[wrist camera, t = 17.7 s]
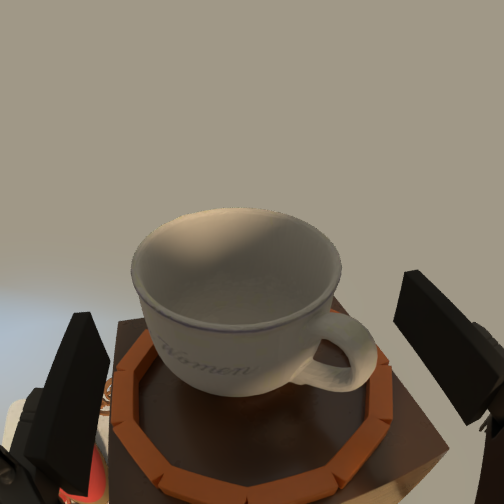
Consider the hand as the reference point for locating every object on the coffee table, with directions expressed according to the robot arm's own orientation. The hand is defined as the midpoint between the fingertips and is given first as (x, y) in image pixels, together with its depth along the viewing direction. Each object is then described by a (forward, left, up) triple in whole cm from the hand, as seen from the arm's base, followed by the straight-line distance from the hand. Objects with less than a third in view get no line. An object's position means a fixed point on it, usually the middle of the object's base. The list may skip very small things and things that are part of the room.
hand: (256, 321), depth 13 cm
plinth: (0, -3, -30) cm, 30 cm away
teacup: (-1, -5, -7) cm, 9 cm away
